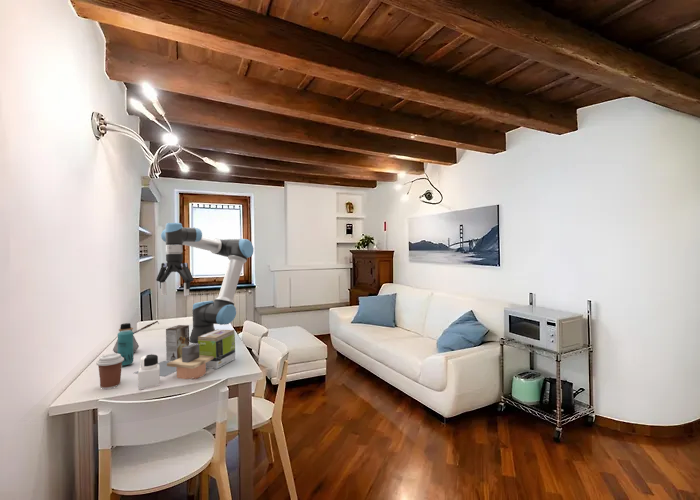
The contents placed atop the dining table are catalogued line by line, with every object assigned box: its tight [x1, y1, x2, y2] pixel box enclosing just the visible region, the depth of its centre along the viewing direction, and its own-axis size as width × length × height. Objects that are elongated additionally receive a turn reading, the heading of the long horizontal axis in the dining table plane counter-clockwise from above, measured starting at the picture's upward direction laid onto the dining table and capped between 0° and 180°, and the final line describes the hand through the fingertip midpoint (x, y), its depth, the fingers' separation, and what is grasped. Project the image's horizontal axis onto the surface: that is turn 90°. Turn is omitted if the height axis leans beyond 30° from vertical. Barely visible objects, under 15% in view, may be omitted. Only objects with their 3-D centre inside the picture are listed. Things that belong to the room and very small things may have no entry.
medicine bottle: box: [137, 353, 161, 391], centre depth 137 cm, size 7×7×12 cm
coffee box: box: [165, 324, 190, 362], centre depth 171 cm, size 9×6×16 cm
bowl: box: [176, 363, 207, 380], centre depth 149 cm, size 11×11×6 cm
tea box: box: [197, 329, 236, 370], centre depth 164 cm, size 15×10×15 cm, turn 165°
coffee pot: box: [112, 320, 160, 354], centre depth 185 cm, size 21×12×15 cm, turn 130°
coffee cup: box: [95, 352, 124, 390], centre depth 138 cm, size 9×9×12 cm
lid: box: [167, 342, 214, 369], centre depth 149 cm, size 13×13×7 cm
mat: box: [133, 360, 177, 378], centre depth 156 cm, size 17×17×1 cm
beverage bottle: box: [117, 322, 134, 366], centre depth 161 cm, size 6×7×20 cm
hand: (175, 295), depth 175 cm, fingers open, 13 cm apart
